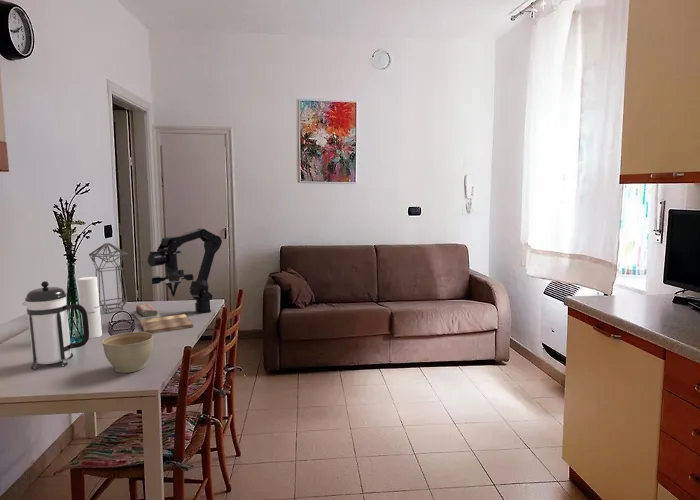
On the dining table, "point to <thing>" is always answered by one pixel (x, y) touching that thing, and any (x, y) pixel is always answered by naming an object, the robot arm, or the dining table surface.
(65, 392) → the dining table surface
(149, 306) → the packaged product
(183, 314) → the oak plank
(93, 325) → the cylindrical container
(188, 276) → the robot arm
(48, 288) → the coffee press
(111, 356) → the planter bowl
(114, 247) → the geometric lantern
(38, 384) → the dining table surface
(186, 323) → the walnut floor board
